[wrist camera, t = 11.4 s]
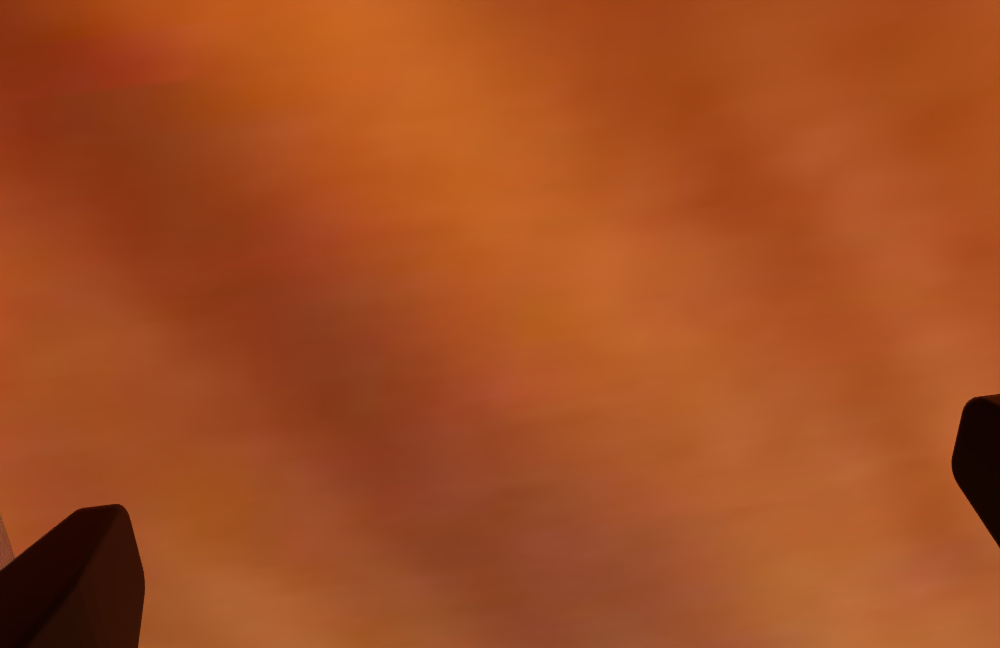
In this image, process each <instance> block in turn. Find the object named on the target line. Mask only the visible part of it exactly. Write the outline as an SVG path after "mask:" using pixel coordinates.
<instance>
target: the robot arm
mask: <svg viewBox="0 0 1000 648" xmlns="http://www.w3.org/2000/svg"><path fill="white" fill-rule="evenodd" d="M952 471H953V475H954V478H955V480H956V482H957V484H958V485H959V487H960V488H961V490H962V491H963V493H964V494H965V496H966V498H967V499H968V501H969V502H970V504H971V505H972V507H973V508H974V510H975V511H976V513H977V514H978V516H979V517H980V519H981V520H982V522H983V523H984V525H985V526H986V528H987V529H988V531H989V532H990V534H991V535H992V537H993V538H994V540H995V541H996V543H997V544H998V546H999V548H1000V394H996V395H988V396H980V397H975V398H972V399H971V400H969V401H968V402H967V403H966V405H965V406H964V408H963V411H962V415H961V420H960V424H959V429H958V433H957V437H956V442H955V446H954V451H953V455H952ZM144 595H145V579H144V571H143V567H142V563H141V559H140V555H139V551H138V547H137V544H136V540H135V536H134V532H133V528H132V524H131V521H130V517H129V514H128V512H127V510H126V509H125V508H124V507H123V506H122V505H120V504H111V505H103V506H95V507H87V508H81V509H78V510H76V511H75V512H73V513H72V514H71V515H69V516H68V517H67V518H66V519H64V520H63V521H62V522H61V523H59V524H58V525H57V526H56V527H54V528H53V529H52V530H50V531H49V532H48V533H47V534H45V535H44V536H43V537H42V538H40V539H39V540H38V541H37V542H35V543H34V544H33V545H31V546H30V547H29V548H28V549H26V550H25V551H24V552H23V553H21V554H20V555H19V556H18V557H16V558H15V559H14V560H12V561H11V562H10V563H9V564H7V565H6V566H5V567H4V568H2V569H1V570H0V648H138V643H139V635H140V627H141V619H142V611H143V604H144Z"/></svg>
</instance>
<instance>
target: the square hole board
mask: <svg viewBox="0 0 1000 648" xmlns="http://www.w3.org/2000/svg"><path fill="white" fill-rule="evenodd" d="M12 560H14V557H13V554H12V551H11V548H10V545H9V542H8V539H7V536H6V534H5V531H4V528H3V525H2V522H1V519H0V570H1V569H2V568H4V567H5V566H6V565H7V564H9V563H10V562H11V561H12Z"/></svg>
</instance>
